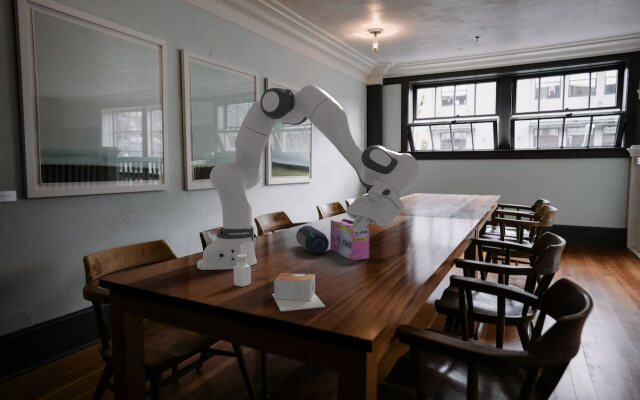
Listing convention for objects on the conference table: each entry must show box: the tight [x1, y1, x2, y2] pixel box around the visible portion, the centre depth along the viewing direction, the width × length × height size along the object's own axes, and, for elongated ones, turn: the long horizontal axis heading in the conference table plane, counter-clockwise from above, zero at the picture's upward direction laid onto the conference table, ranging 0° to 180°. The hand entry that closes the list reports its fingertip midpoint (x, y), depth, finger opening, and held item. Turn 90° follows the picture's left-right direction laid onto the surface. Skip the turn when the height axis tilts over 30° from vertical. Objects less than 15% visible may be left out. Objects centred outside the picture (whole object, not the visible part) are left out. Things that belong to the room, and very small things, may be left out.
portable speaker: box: [295, 225, 330, 256], centre depth 178 cm, size 25×10×10 cm, turn 16°
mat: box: [271, 293, 326, 313], centre depth 112 cm, size 12×14×1 cm
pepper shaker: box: [233, 254, 252, 288], centre depth 127 cm, size 4×4×10 cm
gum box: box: [329, 218, 370, 261], centre depth 171 cm, size 24×8×14 cm, turn 22°
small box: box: [273, 272, 316, 301], centre depth 115 cm, size 8×6×10 cm
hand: (354, 230), depth 120 cm, fingers closed
